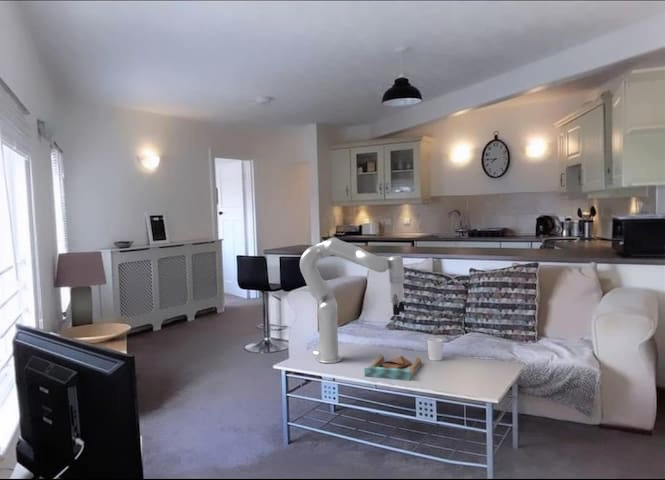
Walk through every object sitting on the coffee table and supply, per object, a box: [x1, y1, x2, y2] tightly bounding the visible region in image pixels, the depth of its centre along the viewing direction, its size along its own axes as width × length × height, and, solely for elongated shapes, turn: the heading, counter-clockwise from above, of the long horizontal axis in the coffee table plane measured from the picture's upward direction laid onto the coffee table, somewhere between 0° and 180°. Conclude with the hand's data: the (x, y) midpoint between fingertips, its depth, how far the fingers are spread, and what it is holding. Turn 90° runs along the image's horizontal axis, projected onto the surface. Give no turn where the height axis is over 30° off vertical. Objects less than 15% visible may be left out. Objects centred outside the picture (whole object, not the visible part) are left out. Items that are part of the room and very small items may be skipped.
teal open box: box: [363, 354, 422, 381], centre depth 236 cm, size 21×27×4 cm
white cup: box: [426, 337, 444, 362], centre depth 251 cm, size 8×8×10 cm
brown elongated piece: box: [379, 355, 413, 369], centre depth 240 cm, size 18×7×7 cm
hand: (399, 313), depth 253 cm, fingers open, 9 cm apart
